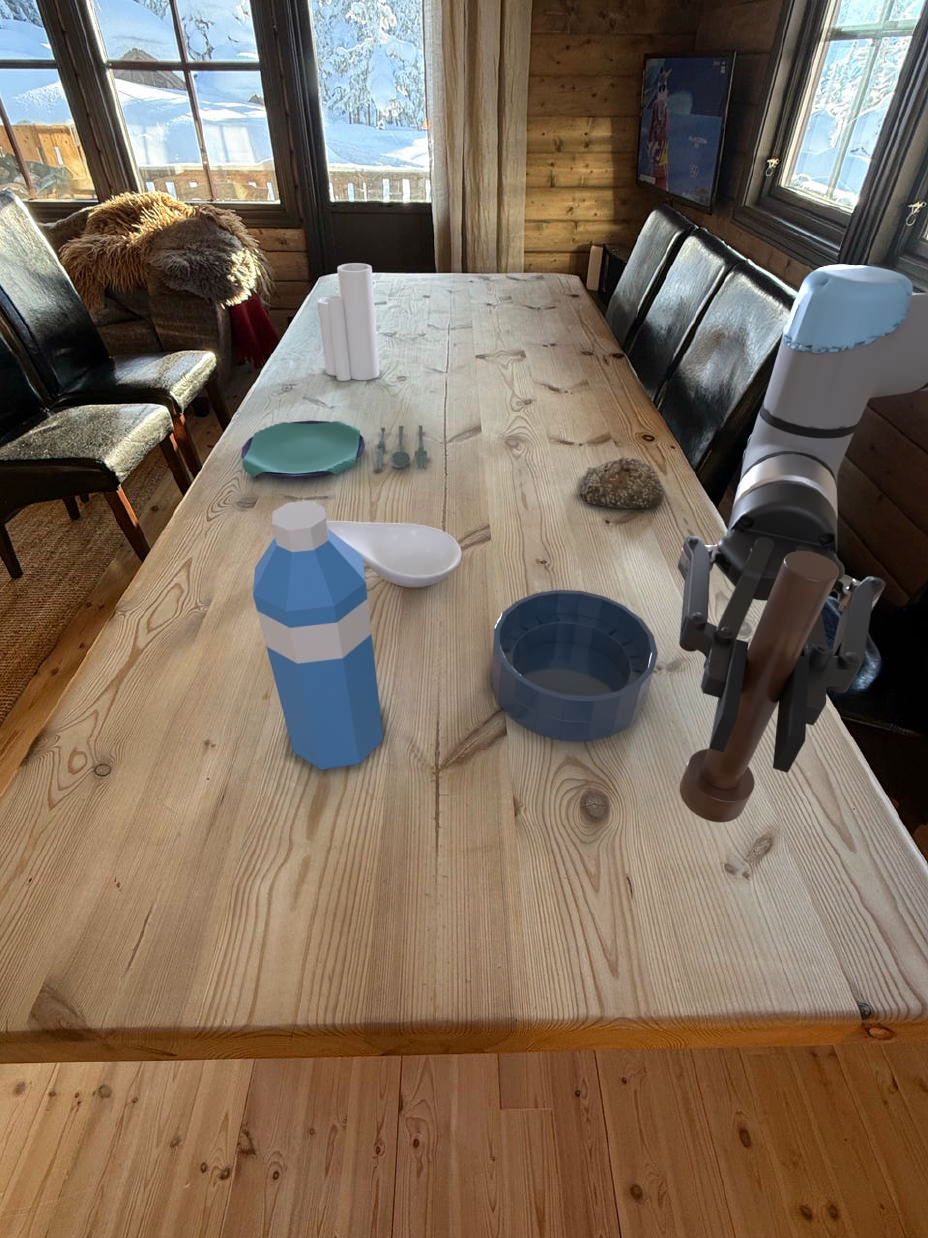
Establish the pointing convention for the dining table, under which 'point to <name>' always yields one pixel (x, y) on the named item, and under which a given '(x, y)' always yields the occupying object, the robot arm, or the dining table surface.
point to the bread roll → (622, 485)
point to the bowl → (572, 664)
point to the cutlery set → (315, 449)
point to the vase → (350, 325)
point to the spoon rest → (402, 550)
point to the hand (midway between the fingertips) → (755, 743)
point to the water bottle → (319, 638)
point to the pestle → (760, 686)
